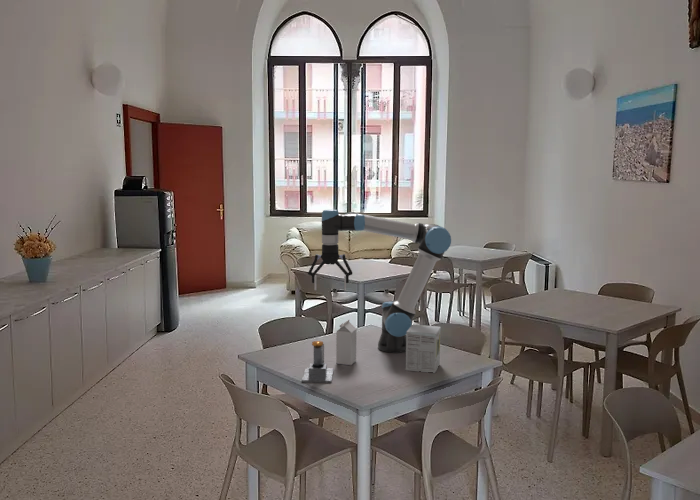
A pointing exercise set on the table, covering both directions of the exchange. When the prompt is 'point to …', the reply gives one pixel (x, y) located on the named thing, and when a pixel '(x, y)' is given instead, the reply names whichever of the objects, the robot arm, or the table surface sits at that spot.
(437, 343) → the supplement box
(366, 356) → the table surface
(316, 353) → the grey cylinder orange top
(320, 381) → the post on square base
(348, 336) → the milk carton
